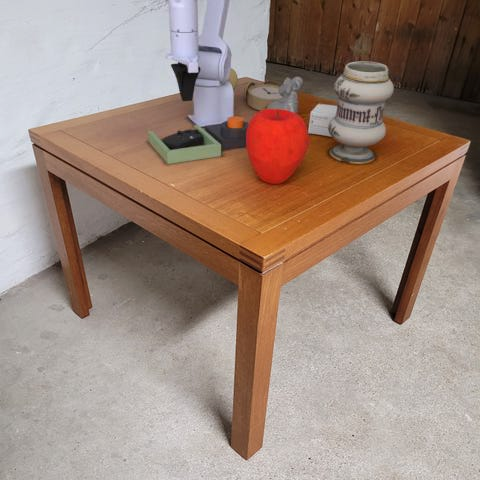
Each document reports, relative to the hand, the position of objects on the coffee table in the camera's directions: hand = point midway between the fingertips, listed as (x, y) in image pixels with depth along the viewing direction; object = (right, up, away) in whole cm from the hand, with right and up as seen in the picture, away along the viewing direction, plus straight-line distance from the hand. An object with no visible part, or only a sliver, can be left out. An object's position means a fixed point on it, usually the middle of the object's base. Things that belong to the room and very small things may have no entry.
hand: (186, 100), depth 112 cm
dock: (-1, -11, 0) cm, 11 cm away
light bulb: (+8, +8, +23) cm, 26 cm away
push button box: (+10, -7, +5) cm, 13 cm away
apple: (+19, -21, -11) cm, 30 cm away
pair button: (+11, -5, +1) cm, 12 cm away
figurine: (+22, 0, +15) cm, 26 cm away
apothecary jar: (+36, -12, 0) cm, 38 cm away
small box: (+33, -3, +11) cm, 35 cm away
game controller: (-1, -10, +1) cm, 10 cm away
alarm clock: (+19, +11, +27) cm, 35 cm away
